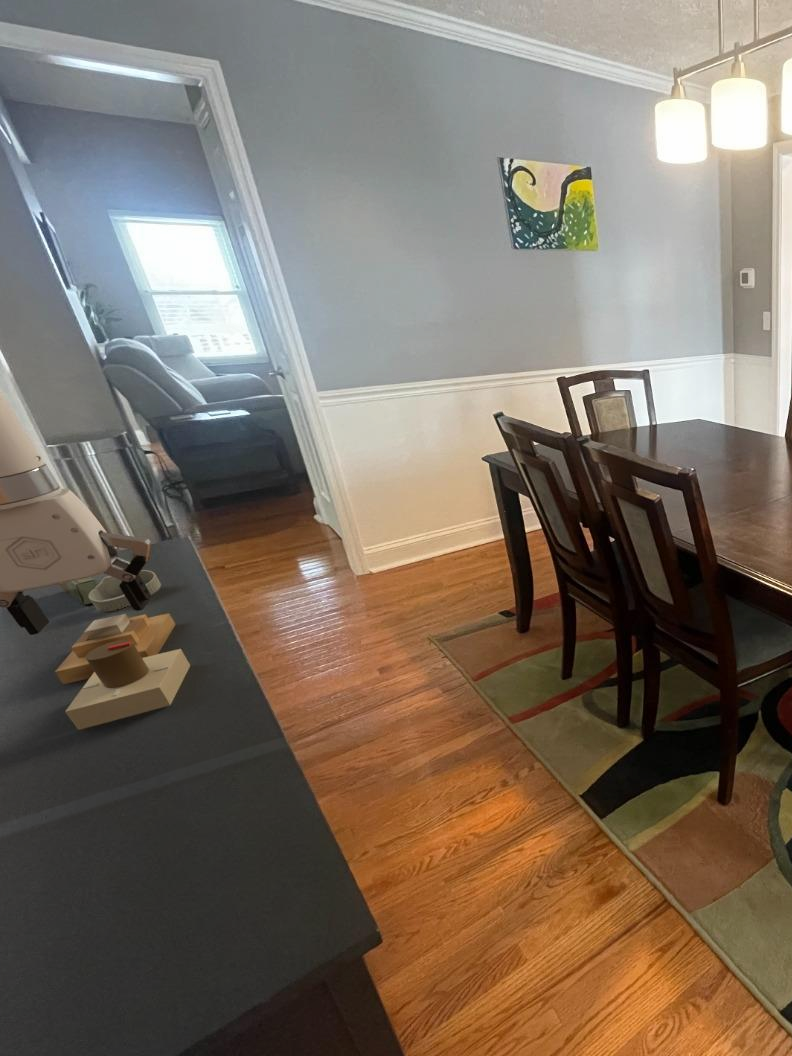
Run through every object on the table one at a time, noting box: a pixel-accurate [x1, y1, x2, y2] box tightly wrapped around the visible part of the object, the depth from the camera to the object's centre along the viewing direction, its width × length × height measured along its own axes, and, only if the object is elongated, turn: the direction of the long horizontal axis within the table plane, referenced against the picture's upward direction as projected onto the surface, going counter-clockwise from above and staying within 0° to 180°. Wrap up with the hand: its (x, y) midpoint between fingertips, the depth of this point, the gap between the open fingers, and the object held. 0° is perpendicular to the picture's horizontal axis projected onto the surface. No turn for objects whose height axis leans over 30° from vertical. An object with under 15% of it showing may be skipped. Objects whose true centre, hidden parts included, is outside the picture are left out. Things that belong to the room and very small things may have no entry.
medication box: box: [59, 577, 99, 606], centre depth 105 cm, size 12×3×4 cm, turn 60°
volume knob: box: [85, 640, 149, 688], centre depth 77 cm, size 4×4×5 cm
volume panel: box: [64, 648, 191, 731], centre depth 79 cm, size 9×10×3 cm
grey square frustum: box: [83, 613, 131, 640], centre depth 87 cm, size 4×4×2 cm
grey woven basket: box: [88, 569, 162, 613], centre depth 103 cm, size 9×6×5 cm
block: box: [54, 612, 177, 685], centre depth 88 cm, size 10×12×4 cm
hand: (93, 617), depth 74 cm, fingers open, 9 cm apart
